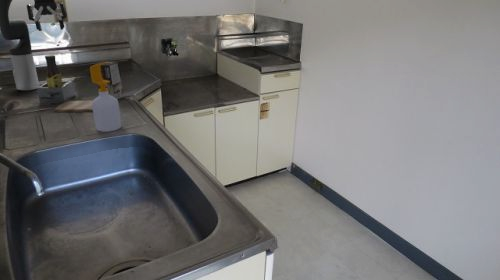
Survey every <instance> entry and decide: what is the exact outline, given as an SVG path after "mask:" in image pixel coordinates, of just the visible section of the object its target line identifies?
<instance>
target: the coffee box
mask: <svg viewBox="0 0 500 280" xmlns="http://www.w3.org/2000/svg"><path fill="white" fill-rule="evenodd" d="M104 62H106V64H103V65H101V66H100V69H101V75H102V79H103V80H108V81H110V83H106V85H105V88H107V89H108V92H109V95H110V96H113V97H114V98H116V99H117V100H119V99H122V98H124V97H125V96H124V91H123V90H124V88H123V87H124V86H123V81H122V75H121V74H122V73H121V67H120V62H114V61H104V60H103V61H101V62H97V63H95V64H94V65H96V64H100V63H104ZM97 85H98V84H97ZM99 89H101V88H100V86H99V85H98V90H99Z"/></svg>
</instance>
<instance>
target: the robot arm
mask: <svg viewBox="0 0 500 280" xmlns="http://www.w3.org/2000/svg"><path fill="white" fill-rule="evenodd" d="M33 1H34V4H27V5H26V11H27V15H28V20H29V21H32V22H34V24H35V27H36V30H38V32H41V31H42V26H41V21H40V19H41V17H42V16H47V15H49V16H52V15H53V16H54V17H56V18H57V19H58V23H59V28H60V30H64V28H65V26H66V25H65V21H64V20H65V19H67V18H68V15H67V10H66V7H65V3H64V2H60V3H57V2H56V1H55V0H33ZM12 2H13V0H0V34H1V35H2V38H3V39H4V40H5V41H17V40H18V43H17V44H15V45H14V46H12V47H10V48H9V55H10V58H11V62H12V66H13V67H12V68H13V70H12V73H13V78H14V82H15V83H14V84H15V86H16V90H17V91H18V90H19V91H32V90H37V87H39V86H40V82H39V79H38V73H37V69H36V64H35V60H34V55H33V51H32V44H31V43H32V42H31V38H30V30H29V27H28V25H27V22H26V21H25V20H24V19H22V18H16V19H13V18H12V19H10V18H9V11H10V7H11V5H12ZM57 8H58V9H59V10H60V11H61V13H62V14H60V13H59V12H58V11H57ZM34 9H35V10H36V11H37V12H36V14H35V17H34V12H33V11H34Z"/></svg>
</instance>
